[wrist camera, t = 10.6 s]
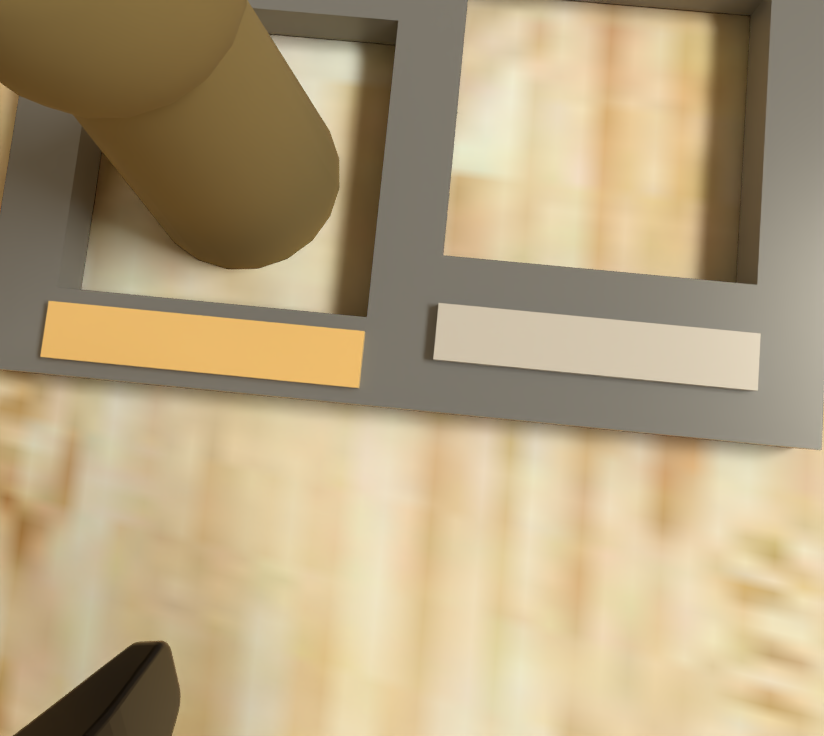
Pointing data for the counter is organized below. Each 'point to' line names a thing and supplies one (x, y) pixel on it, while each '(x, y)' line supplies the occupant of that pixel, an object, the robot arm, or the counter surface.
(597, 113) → the counter surface
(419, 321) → the panel
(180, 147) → the cork
